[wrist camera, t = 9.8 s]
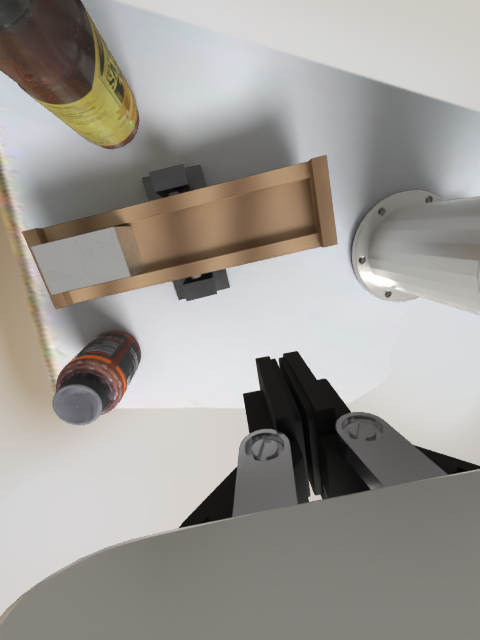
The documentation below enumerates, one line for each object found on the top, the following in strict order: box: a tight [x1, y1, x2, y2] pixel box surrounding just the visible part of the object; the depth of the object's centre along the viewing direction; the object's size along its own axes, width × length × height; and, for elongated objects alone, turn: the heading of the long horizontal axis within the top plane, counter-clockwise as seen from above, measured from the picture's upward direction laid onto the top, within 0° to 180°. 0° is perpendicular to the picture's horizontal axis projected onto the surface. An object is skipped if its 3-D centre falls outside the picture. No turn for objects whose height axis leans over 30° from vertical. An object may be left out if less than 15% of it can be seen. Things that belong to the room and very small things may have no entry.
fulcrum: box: [142, 164, 230, 301], centre depth 30 cm, size 26×13×6 cm, turn 103°
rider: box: [31, 226, 146, 295], centre depth 26 cm, size 7×4×4 cm, turn 103°
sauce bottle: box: [0, 0, 139, 149], centre depth 19 cm, size 6×6×20 cm
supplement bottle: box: [53, 331, 141, 425], centre depth 30 cm, size 6×6×11 cm
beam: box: [22, 155, 337, 309], centre depth 28 cm, size 26×8×6 cm, turn 103°
